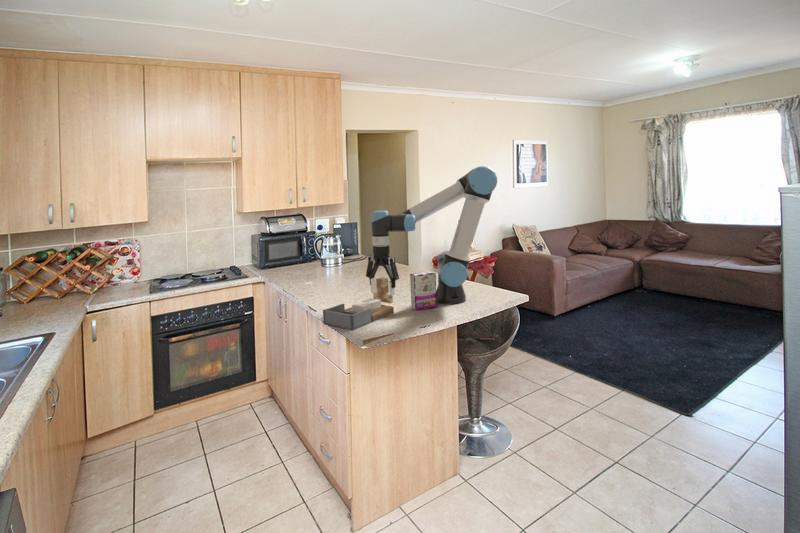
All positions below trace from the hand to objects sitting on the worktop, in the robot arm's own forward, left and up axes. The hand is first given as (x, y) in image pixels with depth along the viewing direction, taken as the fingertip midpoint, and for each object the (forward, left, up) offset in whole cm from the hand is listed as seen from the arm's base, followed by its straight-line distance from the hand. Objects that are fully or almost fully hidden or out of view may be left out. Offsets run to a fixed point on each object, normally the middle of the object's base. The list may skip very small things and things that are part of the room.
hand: (382, 293), depth 199 cm
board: (0, +10, -7) cm, 13 cm away
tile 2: (0, +8, -4) cm, 10 cm away
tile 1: (0, +15, -4) cm, 16 cm away
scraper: (0, 0, -4) cm, 4 cm away
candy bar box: (-15, -11, -8) cm, 20 cm away
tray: (0, +24, -7) cm, 26 cm away
